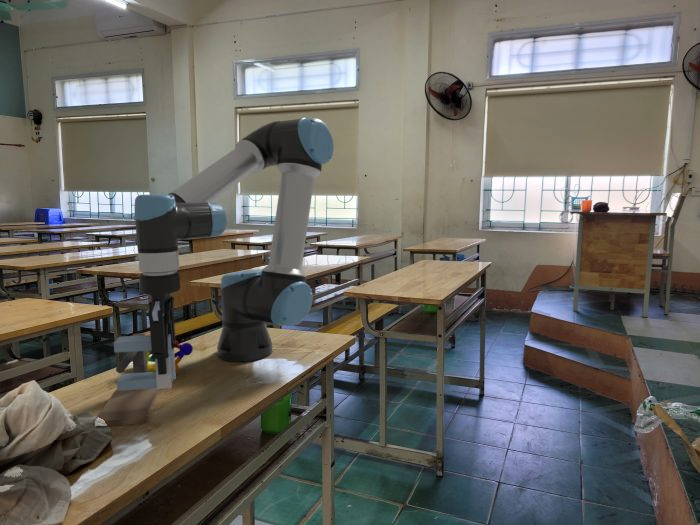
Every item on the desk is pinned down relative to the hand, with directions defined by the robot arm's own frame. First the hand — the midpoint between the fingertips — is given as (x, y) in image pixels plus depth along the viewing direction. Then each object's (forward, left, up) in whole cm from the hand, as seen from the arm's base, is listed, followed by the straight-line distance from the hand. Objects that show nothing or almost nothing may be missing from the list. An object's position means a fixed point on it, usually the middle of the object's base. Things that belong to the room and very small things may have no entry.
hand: (166, 383), depth 102 cm
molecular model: (+6, -23, -6) cm, 25 cm away
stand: (+8, -4, -6) cm, 11 cm away
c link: (+4, 0, 0) cm, 4 cm away
